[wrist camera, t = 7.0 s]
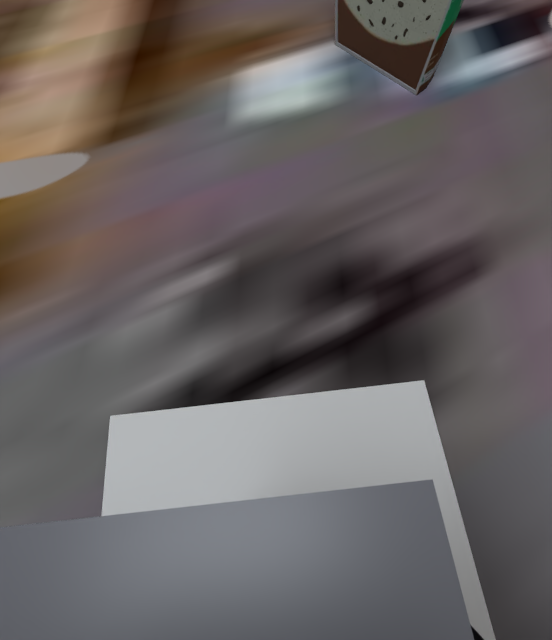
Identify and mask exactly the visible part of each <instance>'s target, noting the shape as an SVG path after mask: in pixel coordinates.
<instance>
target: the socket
mask: <svg viewBox="0 0 552 640" xmlns="http://www.w3.org/2000/svg"><path fill="white" fill-rule="evenodd" d="M431 479H433V483H434V486H435V490H436V494H437V498H438V502H439V506H440V510H441V513H442V517H443V521H444V525H445V529H446V533H447V537H448V540H449V544H450V548H451V552H452V556H453V560H454V564H455V567H456V571H457V575H458V579H459V583H460V587H461V591H462V594H463V598H464V602H465V606H466V610H467V614H468V618H469V621H470V624H471V626H472V627H473V628H474V629H475V630H476V631H477V632H478V633H479V634H480V635H481V637H482V638H483V639H484V640H496V639H495V635H494V632H493V628H492V625H491V621H490V617H489V614H488V610H487V606H486V603H485V599H484V596H483V592H482V588H481V585H480V581H479V578H478V574H477V570H476V567H475V563H474V559H473V556H472V552H471V549H470V545H469V541H468V538H467V534H466V531H465V527H464V523H463V520H462V516H461V512H460V509H459V505H458V502H457V498H456V494H455V491H454V487H453V483H452V480H451V476H450V473H449V469H448V465H447V462H446V458H445V455H444V451H443V447H442V444H441V440H440V436H439V433H438V429H437V426H436V422H435V418H434V415H433V411H432V407H431V404H430V400H429V397H428V393H427V389H426V386H425V382H424V380H423V381H415V382H406V383H397V384H388V385H379V386H371V387H362V388H353V389H344V390H335V391H326V392H318V393H309V394H300V395H291V396H282V397H274V398H265V399H256V400H247V401H238V402H229V403H221V404H212V405H203V406H194V407H185V408H176V409H168V410H159V411H150V412H141V413H132V414H124V415H115V416H110V425H109V437H108V448H107V459H106V471H105V482H104V494H103V505H102V516H108V515H117V514H126V513H135V512H144V511H153V510H162V509H171V508H180V507H189V506H198V505H207V504H216V503H225V502H234V501H243V500H252V499H261V498H270V497H279V496H288V495H297V494H306V493H315V492H324V491H333V490H342V489H351V488H360V487H369V486H378V485H387V484H395V483H404V482H413V481H422V480H431Z"/></svg>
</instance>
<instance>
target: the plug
mask: <svg viewBox="0 0 552 640" xmlns="http://www.w3.org/2000/svg"><path fill="white" fill-rule="evenodd" d="M0 640H474V637H473V633H472V629H471V625H470V621H469V618H468V614H467V610H466V606H465V602H464V598H463V594H462V591H461V587H460V583H459V579H458V575H457V571H456V567H455V564H454V560H453V556H452V552H451V548H450V544H449V540H448V537H447V533H446V529H445V525H444V521H443V517H442V513H441V510H440V506H439V502H438V498H437V494H436V490H435V486H434V483H433V479H431V480H422V481H413V482H404V483H395V484H387V485H378V486H369V487H360V488H351V489H342V490H333V491H324V492H315V493H306V494H297V495H288V496H279V497H270V498H261V499H252V500H243V501H234V502H225V503H216V504H207V505H198V506H189V507H180V508H171V509H162V510H153V511H144V512H135V513H126V514H117V515H108V516H99V517H90V518H81V519H72V520H63V521H54V522H45V523H36V524H27V525H18V526H9V527H0Z"/></svg>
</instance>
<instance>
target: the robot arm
mask: <svg viewBox="0 0 552 640" xmlns="http://www.w3.org/2000/svg"><path fill="white" fill-rule="evenodd" d="M470 625H471V624H470ZM471 629H472V633H473V637H474V640H484V639H483V638H482V637H481V635H480V634H479V633H478V632H477V631H476V630H475V629H474V628H473V627H472V626H471Z"/></svg>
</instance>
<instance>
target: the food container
mask: <svg viewBox="0 0 552 640" xmlns="http://www.w3.org/2000/svg"><path fill="white" fill-rule="evenodd" d="M462 3H463V0H335V45H336V46H338V47H340V48H341V49H343V50H344V51H346V52H348V53H349V54H351V55H352V56H354V57H356V58H357V59H359V60H360V61H362V62H364V63H365V64H367V65H368V66H370V67H372V68H373V69H375V70H376V71H378V72H380V73H381V74H383V75H385V76H386V77H388V78H389V79H391V80H393V81H394V82H396V83H397V84H399V85H401V86H402V87H404V88H405V89H407V90H409V91H410V92H412V93H413V94H415V95H418V94H419V93H420V92H421V91H423V90H424V89H425V88H426V87H427V85H428V84H429V82H430V81H431V79H432V78H433V76H434V73H435V71H436V68H437V66H438V63H439V61H440V58H441V56H442V53H443V51H444V48H445V46H446V43H447V40H448V38H449V35H450V33H451V30H452V28H453V25H454V23H455V20H456V18H457V15H458V13H459V10H460V8H461V5H462Z"/></svg>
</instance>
